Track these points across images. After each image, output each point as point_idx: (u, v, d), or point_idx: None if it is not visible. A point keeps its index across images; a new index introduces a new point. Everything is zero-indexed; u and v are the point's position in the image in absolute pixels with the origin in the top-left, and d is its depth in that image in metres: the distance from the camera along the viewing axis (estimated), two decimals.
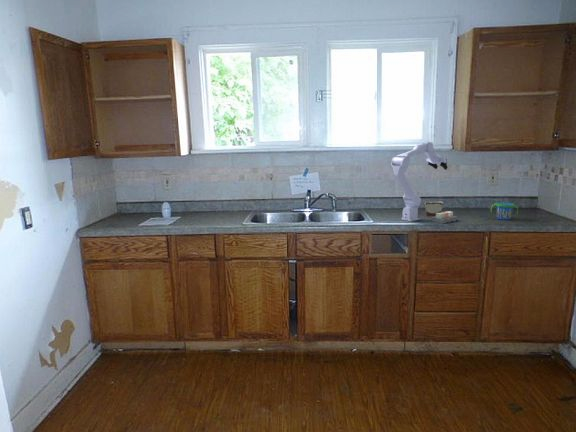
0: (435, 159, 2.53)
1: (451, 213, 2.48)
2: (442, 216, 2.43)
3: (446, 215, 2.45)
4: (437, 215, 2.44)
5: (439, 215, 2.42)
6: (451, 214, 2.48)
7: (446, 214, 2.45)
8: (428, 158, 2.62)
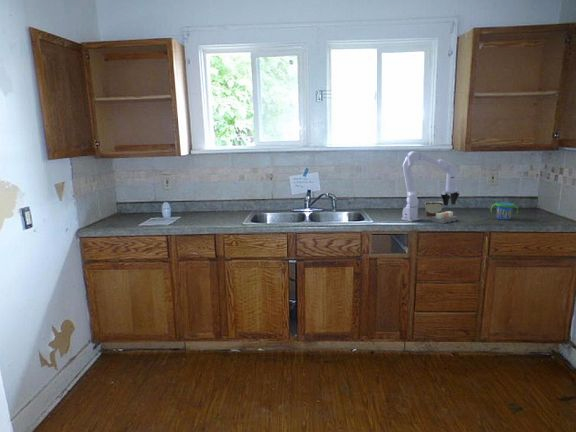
0: (446, 186, 2.46)
1: (451, 213, 2.48)
2: (442, 216, 2.43)
3: (446, 215, 2.45)
4: (437, 215, 2.44)
5: (439, 215, 2.42)
6: (451, 214, 2.48)
7: (446, 214, 2.45)
8: (457, 190, 2.49)
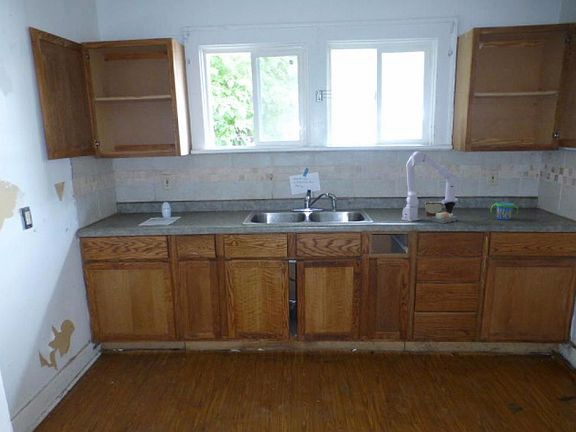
0: (445, 195, 2.47)
1: (451, 215, 2.48)
2: (442, 216, 2.43)
3: (446, 215, 2.45)
4: (437, 215, 2.44)
5: (439, 215, 2.42)
6: (451, 216, 2.48)
7: (446, 214, 2.45)
8: (457, 199, 2.50)
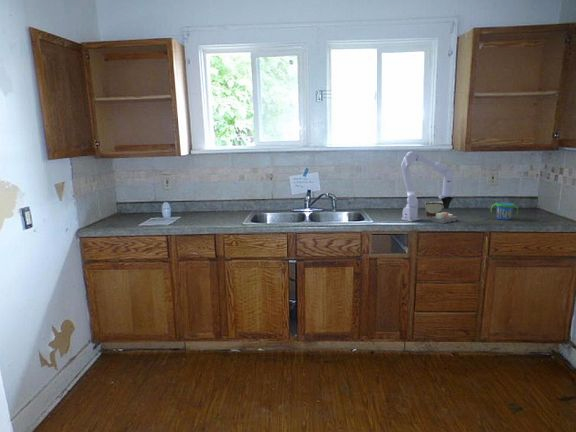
0: None
1: (451, 215, 2.48)
2: (442, 216, 2.43)
3: (446, 215, 2.45)
4: (437, 215, 2.44)
5: (439, 215, 2.42)
6: (451, 216, 2.48)
7: (446, 214, 2.45)
8: (454, 194, 2.48)
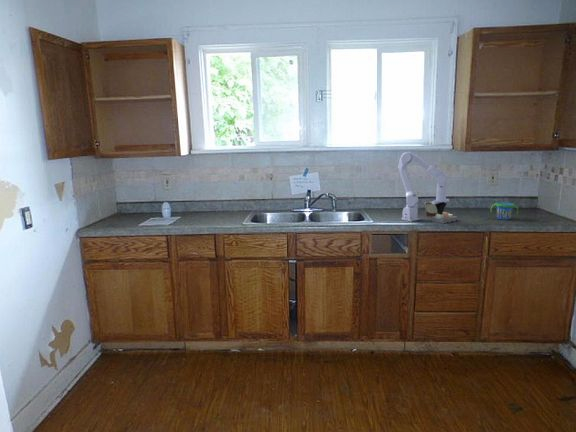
0: (436, 196, 2.42)
1: (451, 215, 2.48)
2: (442, 217, 2.43)
3: (446, 215, 2.45)
4: (437, 216, 2.44)
5: (439, 216, 2.42)
6: (451, 216, 2.48)
7: (446, 214, 2.45)
8: (448, 199, 2.45)
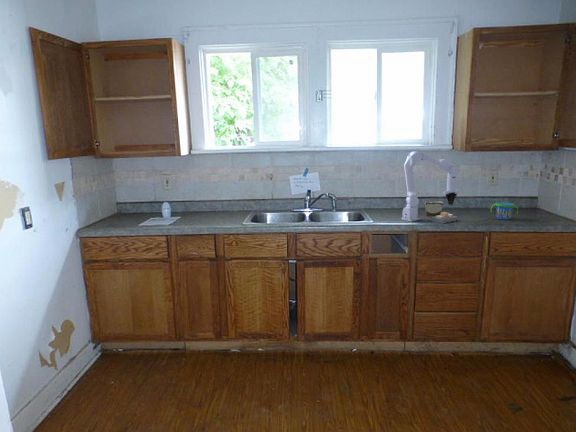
0: (447, 186, 2.47)
1: (451, 215, 2.48)
2: None
3: (446, 215, 2.45)
4: (437, 217, 2.44)
5: (439, 217, 2.43)
6: (451, 216, 2.48)
7: (446, 214, 2.45)
8: (458, 190, 2.50)
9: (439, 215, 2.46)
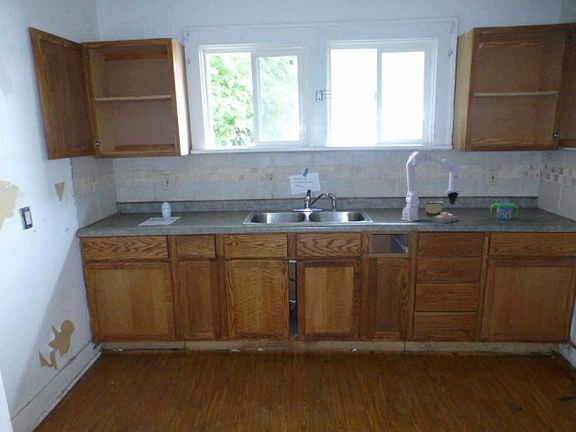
0: None
1: (451, 215, 2.48)
2: None
3: (446, 215, 2.45)
4: (437, 217, 2.44)
5: (439, 217, 2.43)
6: (451, 216, 2.48)
7: (446, 214, 2.45)
8: (460, 189, 2.52)
9: (439, 215, 2.46)
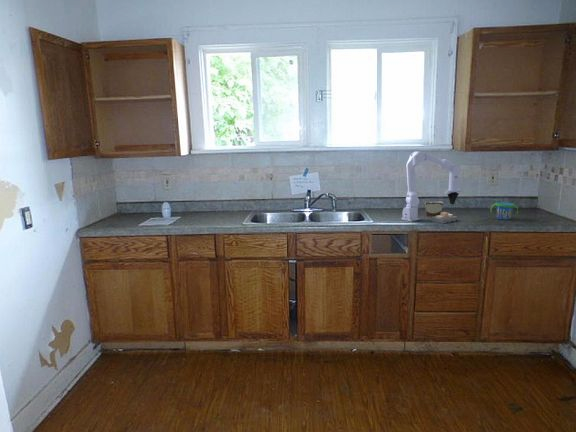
0: None
1: (451, 215, 2.48)
2: None
3: (446, 215, 2.45)
4: (437, 217, 2.44)
5: (439, 217, 2.43)
6: (451, 216, 2.48)
7: (446, 214, 2.45)
8: (460, 189, 2.52)
9: (439, 215, 2.46)
